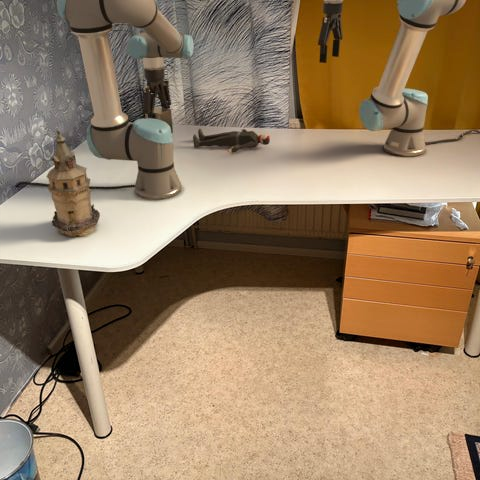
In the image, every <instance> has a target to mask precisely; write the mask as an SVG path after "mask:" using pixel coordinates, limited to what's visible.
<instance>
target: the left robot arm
mask: <svg viewBox="0 0 480 480" xmlns="http://www.w3.org/2000/svg"><path fill="white" fill-rule="evenodd" d="M56 8H57V12H58V15H59V17H60V18H61V20H62V21H63V22H64V23H66V24H69V26H70V32H71V33H72V34H74V35H75V36H76V37H77V38H78V43H79V46H80V47H79V48H80V52H81V53H80V54H81V57H82V58H81V59H82V62H83V67H84V72H85V76H86V81H87V87H88V91H89V96H90V100H91V101H90V102H91V105H92V106H91V107H92V111H93V116H92V117H91V119H90V123H89V124H88V126H87V128H86V143H87V146H88V150H89V151H90V152H91V154H92V155H93V156H95V157H96V158H99V159H104V160H108V161H111V160H116V161H129V162H130V161H133V162H137V175H136V179H135V184H124V185H117V186H116V185H114V186H107V185H105V186H104V185H103V186H101V185H99V186H98V185H97V186H96V185H95V186H94V185H93V186H91V185H89V189H90V190H120V189H130V188H131V189H132V188H134V193H135V195H136V196H137V197H138V198H141V199H143V200H148V201H161V200H168V199H171V198H174V197H176V196H178V195H179V194H180V193H181V192H182V182H181V180H180V177H179V176H178V173H177V171H176V169H175V161H174V160H175V159H174V158H175V157H174V146H173V145H174V144H173V140H174V139H173V135H172V133H171V128H170V126H169V125H168V124H167V123H166V122H164V121H161V120H158V119H155V114H153V113H154V107H155V103H156V97H158V99H159V102H160V105H161V108H167V109H171V106H172V100H171V95H170V94H171V93H170V88H169V86H170V85H169V84H170V83H169V82H170V81H169V80H168V79H165V77H166V75H165V68H164V66H165V62H164V58H167V59H169V58H170V59H189V58H192V56H193V54H194V49H195V48H194V47H195V44H194V39H193V37H192V36H191V34H185V33H183V34H180V32H179V31H178V30H177V29H176V28H175V27H174V26H173V24H172V23H171V22H170V21H169V20H168V19H167V18H166V16H165V15H163V13H162V12H161V11H160V10H159V7H158V4H157V2H156V0H56ZM113 24H128V25H131V26H132V27H134V28H136V29H139V31H138V32H139V33H138V34H134V35H133V36H131V37H130V38H129V39H128V40H127V43H126V50H127V53H128V55H129V56H130V57H131V58H132V59H134V60H135V59H136V60H142V63H143V68H144V69H143V74H144V79H145V80H146V86H141V92H142V112H143V114H144V115H145V114H147V115H148V118H139V119H136V120H134V122H133V123H130V121H129V116H128V114H127V113H125V112H124V111H123V108H122V103H121V98H120V91H119V85H118V79H117V75H116V68H115V63H114V57H113V52H112V46H111V45H112V44H111V40H110V33H111V31H112V30H113V26H114V25H113ZM150 110H151V111H150ZM49 184H50V183H43V182H30V181H19V182H18V183H16V184H15V185H14V188H18V187H20V186H21V185H22V186H23V185H27V186H40V187H47V188H48V186H49Z"/></svg>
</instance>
